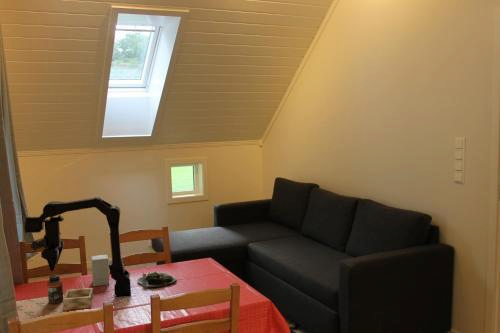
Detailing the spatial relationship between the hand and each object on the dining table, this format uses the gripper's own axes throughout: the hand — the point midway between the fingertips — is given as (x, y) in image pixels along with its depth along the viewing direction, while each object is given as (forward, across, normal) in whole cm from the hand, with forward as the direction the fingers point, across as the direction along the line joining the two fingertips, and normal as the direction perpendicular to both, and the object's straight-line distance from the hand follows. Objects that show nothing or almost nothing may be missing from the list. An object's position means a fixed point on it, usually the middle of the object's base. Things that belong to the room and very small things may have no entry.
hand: (54, 267), depth 200 cm
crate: (+15, +6, +10) cm, 19 cm away
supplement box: (+15, -18, +17) cm, 29 cm away
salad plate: (+15, -12, +43) cm, 47 cm away
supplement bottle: (+15, +1, 0) cm, 15 cm away
